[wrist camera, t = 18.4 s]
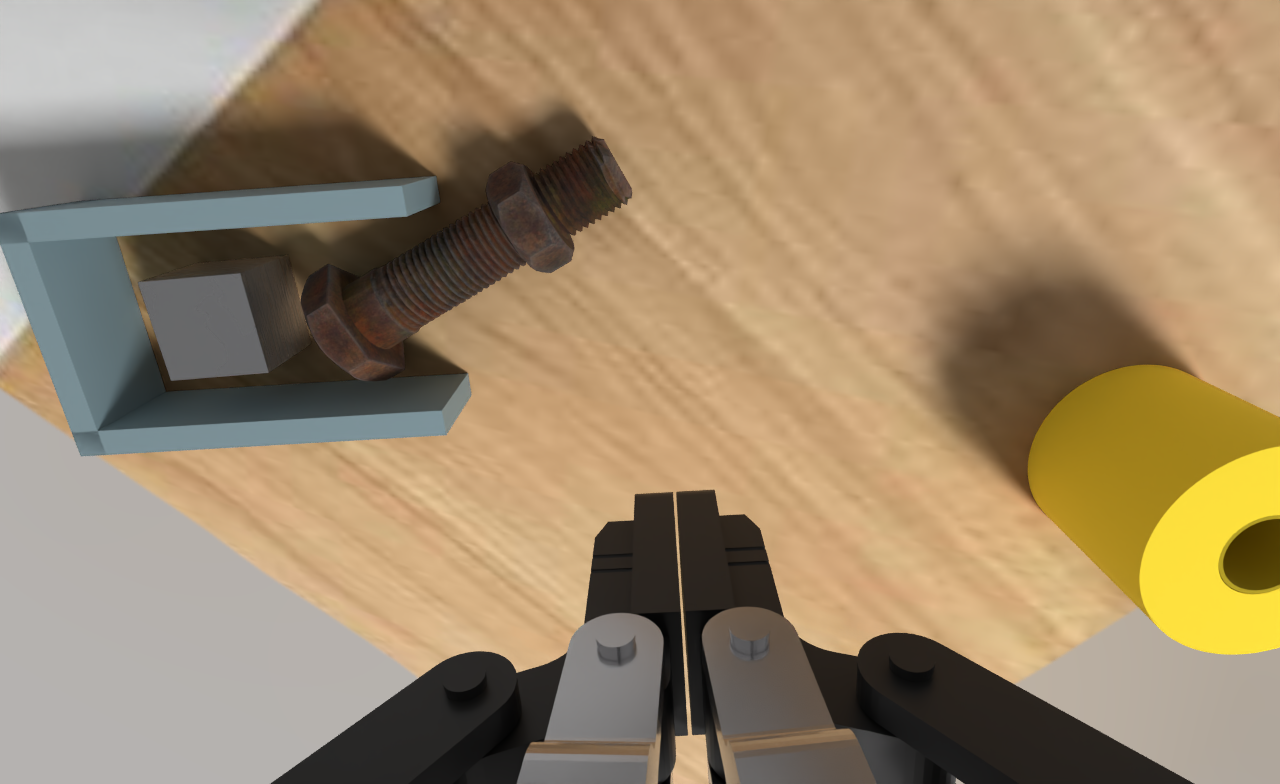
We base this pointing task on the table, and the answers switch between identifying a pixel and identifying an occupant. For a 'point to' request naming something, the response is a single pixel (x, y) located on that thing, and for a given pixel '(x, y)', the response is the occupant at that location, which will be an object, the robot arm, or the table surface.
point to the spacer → (226, 317)
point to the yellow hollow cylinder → (1171, 500)
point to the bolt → (461, 259)
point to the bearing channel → (121, 350)
